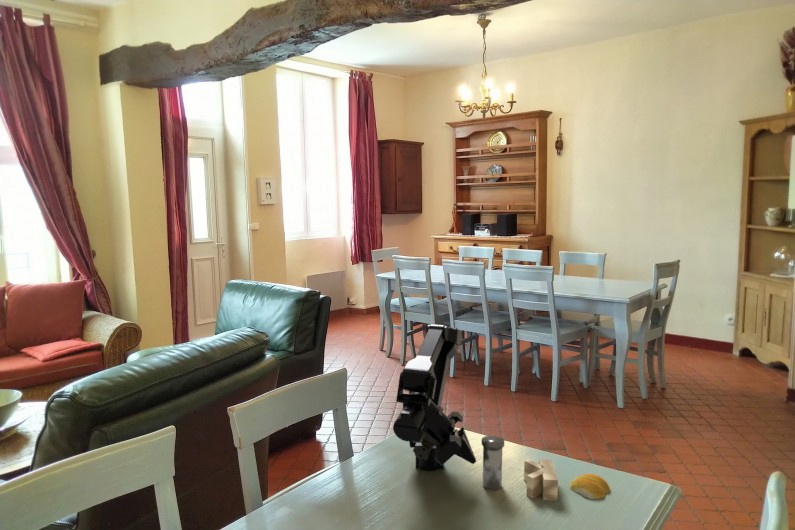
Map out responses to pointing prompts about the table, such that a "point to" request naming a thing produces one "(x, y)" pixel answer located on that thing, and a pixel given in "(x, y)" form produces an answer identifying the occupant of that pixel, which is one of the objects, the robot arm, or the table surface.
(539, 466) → the v block
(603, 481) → the bread roll
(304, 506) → the table surface
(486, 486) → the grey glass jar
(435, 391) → the robot arm
